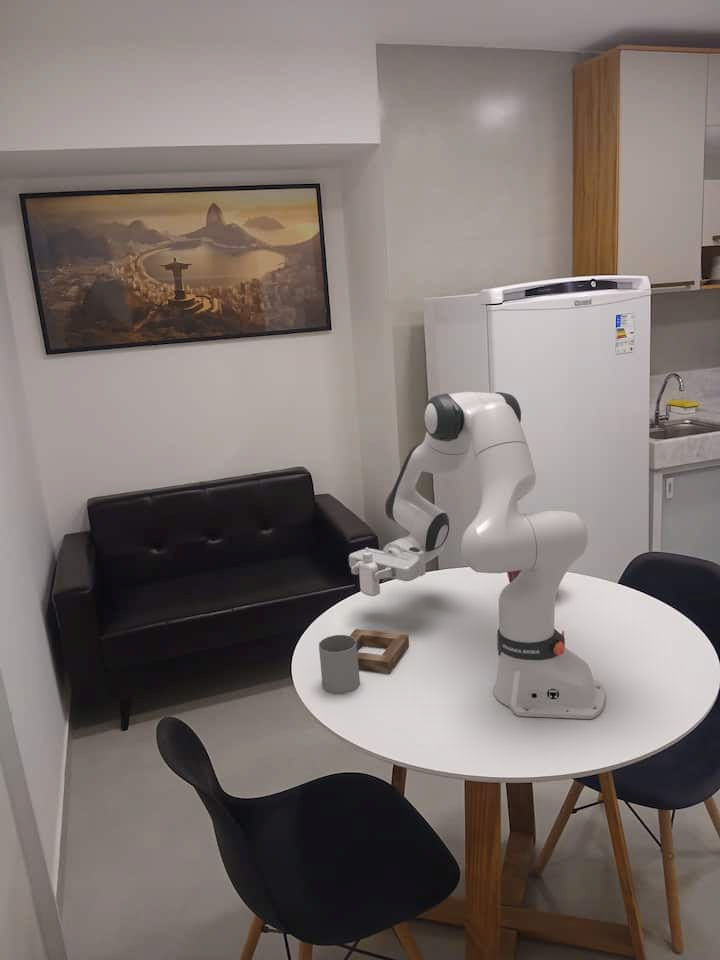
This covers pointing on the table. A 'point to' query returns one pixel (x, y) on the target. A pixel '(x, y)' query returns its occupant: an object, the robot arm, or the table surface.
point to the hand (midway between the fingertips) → (363, 574)
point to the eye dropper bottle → (368, 575)
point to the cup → (339, 664)
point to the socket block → (388, 641)
